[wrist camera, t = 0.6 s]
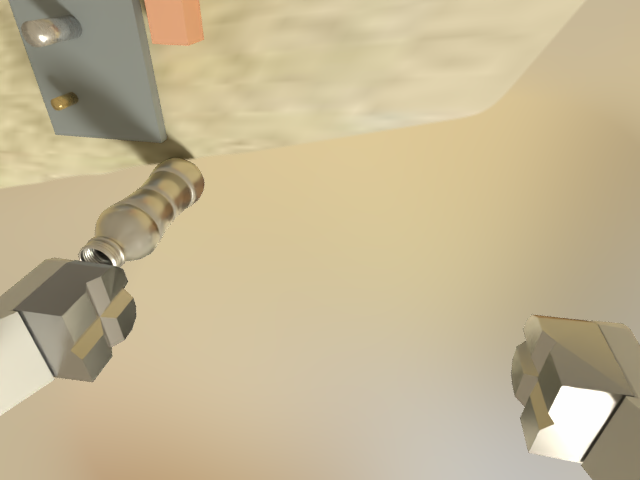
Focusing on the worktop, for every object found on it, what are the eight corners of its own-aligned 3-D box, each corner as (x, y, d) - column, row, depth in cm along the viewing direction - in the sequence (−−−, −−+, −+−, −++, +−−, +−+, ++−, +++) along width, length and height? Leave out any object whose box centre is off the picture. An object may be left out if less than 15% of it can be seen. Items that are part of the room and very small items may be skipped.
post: (62, 10, 46) (20, 16, 42) (82, 20, 47) (44, 27, 42) (59, 97, 52) (23, 111, 47) (78, 105, 53) (43, 120, 48)
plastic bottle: (160, 148, 56) (55, 227, 39) (209, 157, 55) (123, 241, 39) (165, 191, 59) (71, 280, 43) (211, 200, 59) (133, 293, 42)
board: (-6, -73, 44) (-18, -74, 43) (124, -73, 42) (116, -73, 41) (63, 130, 57) (55, 134, 55) (167, 138, 55) (161, 142, 53)
